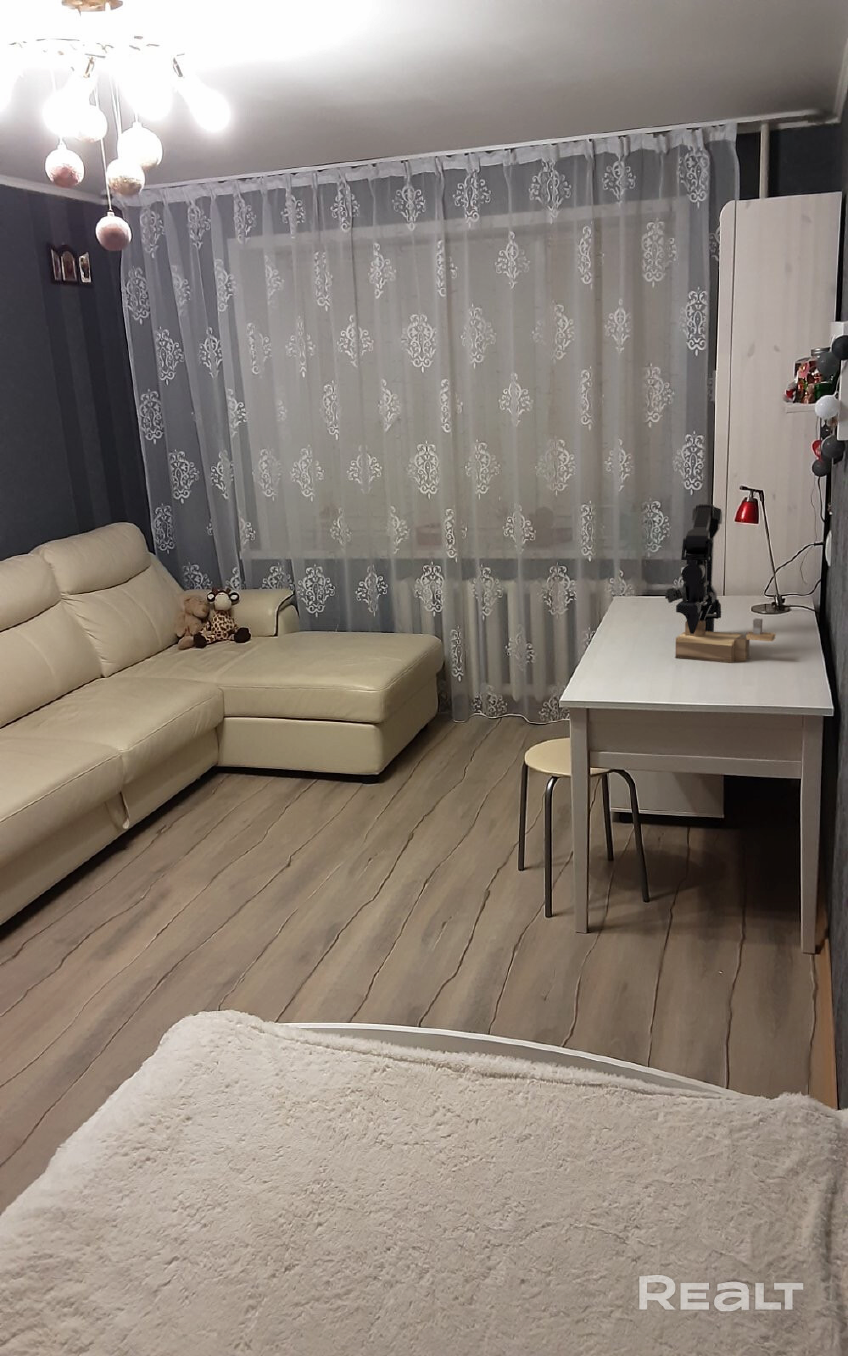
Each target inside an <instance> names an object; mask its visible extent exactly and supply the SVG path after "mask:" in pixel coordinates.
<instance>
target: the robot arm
mask: <svg viewBox="0 0 848 1356" xmlns="http://www.w3.org/2000/svg"><path fill="white" fill-rule="evenodd" d="M691 522H692V524H693V527H692V529H691V530H688V531H687V532H686V534H685V537H684V538H683V539H682V550H681V558H680V560H681V561H686V564H685V567H684V568H683V569H682V571H681V578H682V580H683V583H682V586H680V587H677V588H676V587H671V588H668V589H666V591H665V597H664V598H665V599H666V600H667V602H668V604H671V603H673V602H675V601H679V600H681V601H680V602H678V603H677V605H676V606H675V613H679V614H682V615H683V616H684V617H685V619H686V621H687V623H688V627H689V631H690V633H691V634H694V633H695V630H696V628H697V625H698V623H699V620H700V621H706V622H705V631H710V632H715V619H716V620H718V619H721V618H722V603H720V599H718V593H717V591H716V589H715V587H714V586H713V576H714V575H713V573H714V549H715V548H714V547H715V545H714V543H715V537H716V535H717V534H718V532H719V531H720V525H722V523H723V511H722V509H721V508H720V507H719V508H718V507H717V506H715V505H714V504H712V503H709V504H708V503H707V504H706V503H705V504H703V503H702V504H701V503H700V504H696V506H695V507H694V508H692V516H691Z"/></svg>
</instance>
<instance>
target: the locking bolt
mask: <svg viewBox="0 0 848 1356" xmlns="http://www.w3.org/2000/svg"><path fill="white" fill-rule="evenodd" d="M763 620H764V619H763V618H756V617H755V618H754V619H753V620H752V630H750V631H749V632H747V633H746V637H747V638H746V639H747V640H750V641H762V642H773V641H774V640H775V639H776V632H768V631H767V632H766V631H763V624H764V622H763Z"/></svg>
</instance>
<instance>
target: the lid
mask: <svg viewBox="0 0 848 1356" xmlns="http://www.w3.org/2000/svg"><path fill="white" fill-rule="evenodd" d="M705 622H706V621H700V620H699V623H698V625H697V628H696V630H695V633H694V634H691V633H690V631H689V627H688V623H687V620H686V621H685V624H684V625H685V627H684V629H685V630H684V631H683V632H682V633H681V634H679V635H677V636H676V637H675V642H676V641H678V642H690V643H703V644H715V645H728V646H732V645H733V644H734V643H735V639H736V638H738V637H739V636H743V634H742V633H735V632H724V631H723V632H722V631H721V632H720V631H714V632H710V631H705Z"/></svg>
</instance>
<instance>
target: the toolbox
mask: <svg viewBox="0 0 848 1356" xmlns="http://www.w3.org/2000/svg"><path fill="white" fill-rule="evenodd" d="M746 638H747V636H743V635H742V636H739V637H738V638H736V639H735V643H734V644H733V645H732V646H728V645H715V644H703V643H690V642H678V641H676V640H675V656H674V657H675V659H680V660H681V659H683V660H693V661H705V662H717V663H728V664H731V663H733V662H735V661H736V662H746V661H747V660H748V659H749V658H750V645H751V643H750V641H751V640H747V639H746Z"/></svg>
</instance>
